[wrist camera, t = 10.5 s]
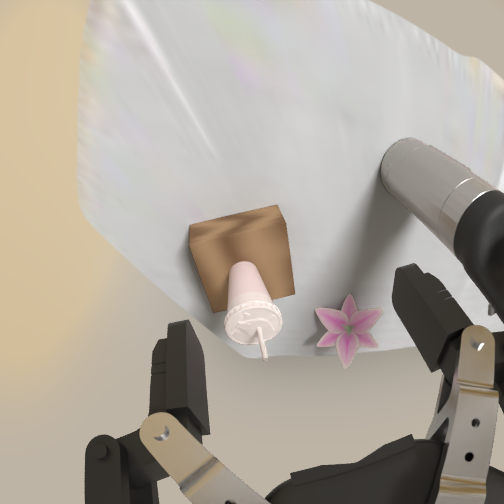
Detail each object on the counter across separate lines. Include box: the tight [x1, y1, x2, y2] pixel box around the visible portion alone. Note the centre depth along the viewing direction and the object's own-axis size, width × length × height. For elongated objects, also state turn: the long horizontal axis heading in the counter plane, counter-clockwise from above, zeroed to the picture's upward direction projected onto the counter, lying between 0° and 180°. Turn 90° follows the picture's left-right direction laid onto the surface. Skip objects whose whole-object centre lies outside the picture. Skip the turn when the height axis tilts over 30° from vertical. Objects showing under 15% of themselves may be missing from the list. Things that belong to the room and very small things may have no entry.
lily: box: [315, 294, 383, 369], centre depth 55 cm, size 12×12×10 cm
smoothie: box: [224, 261, 282, 361], centre depth 37 cm, size 6×6×14 cm
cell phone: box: [488, 304, 496, 316], centre depth 68 cm, size 6×11×1 cm, turn 123°
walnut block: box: [189, 205, 295, 313], centre depth 45 cm, size 12×12×5 cm
